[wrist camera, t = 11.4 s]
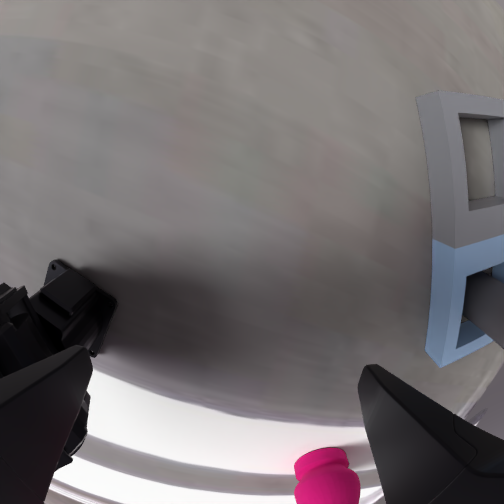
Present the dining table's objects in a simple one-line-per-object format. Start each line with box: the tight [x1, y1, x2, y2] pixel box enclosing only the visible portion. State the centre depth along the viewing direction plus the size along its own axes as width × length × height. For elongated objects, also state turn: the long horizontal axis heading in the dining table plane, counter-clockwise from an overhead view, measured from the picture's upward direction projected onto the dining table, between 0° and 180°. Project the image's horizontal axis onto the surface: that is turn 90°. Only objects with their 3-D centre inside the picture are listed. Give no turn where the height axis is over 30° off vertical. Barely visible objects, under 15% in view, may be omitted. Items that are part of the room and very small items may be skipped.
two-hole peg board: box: [416, 90, 504, 368], centre depth 18 cm, size 22×10×3 cm, turn 11°
